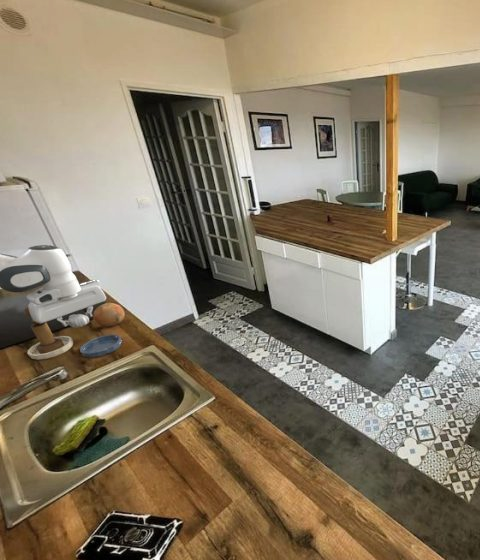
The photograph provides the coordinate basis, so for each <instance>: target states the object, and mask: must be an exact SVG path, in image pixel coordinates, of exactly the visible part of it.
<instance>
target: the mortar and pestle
mask: <svg viewBox="0 0 480 560" xmlns="http://www.w3.org/2000/svg"><path fill="white" fill-rule="evenodd" d="M23 313H24V315H26V316H28V317H30V321H31V323H32V324H31V325H30V328H31V330H32V331H33V334H34V335H35V337H36V338H37V340H38V343H39V342H40V344H39V346H38V347H37V350H38V351H39V353H40V354H45V353H48V352H52V351H55V350H57V349H59V348H61V347H63V346H64V343H63V341H62V340H61V339H55V337H56V336H54V334H53V332H52V331H51V330H52V329H51V328H50V327H49V325H48V322H44V323H37V322H35V321H34V320H33V319H32V317H31V315H30V312H29V308H28V307H25V309H24V310H23Z"/></svg>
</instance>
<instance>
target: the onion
mask: <svg viewBox="0 0 480 560" xmlns="http://www.w3.org/2000/svg"><path fill="white" fill-rule="evenodd" d="M92 318H93V321H94V322H95V323H96V324H97V325H98V326H100V327H105V328H107V327H114V326H117V325H119V324H121V322H122V321H123V320H124V319H125V310H124V308H123V307H122V306H121V305H120V304H117V303H113V302H105V303H103V304H101V305H99V306H98V307H96V308H95V310H94V311H93V313H92Z"/></svg>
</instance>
